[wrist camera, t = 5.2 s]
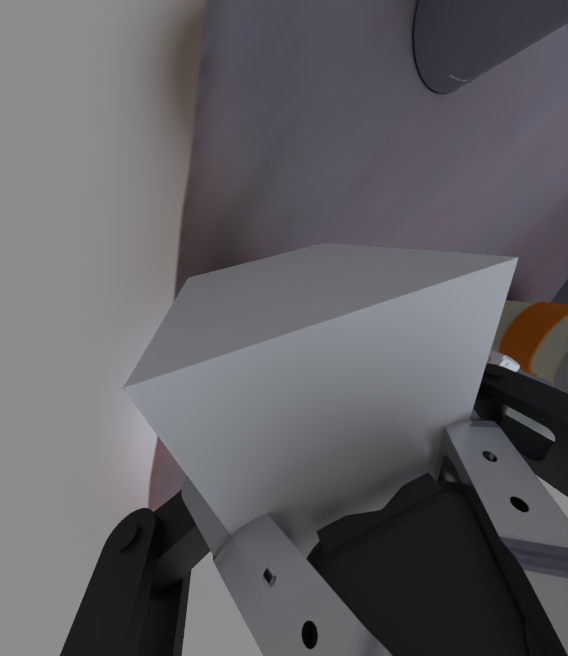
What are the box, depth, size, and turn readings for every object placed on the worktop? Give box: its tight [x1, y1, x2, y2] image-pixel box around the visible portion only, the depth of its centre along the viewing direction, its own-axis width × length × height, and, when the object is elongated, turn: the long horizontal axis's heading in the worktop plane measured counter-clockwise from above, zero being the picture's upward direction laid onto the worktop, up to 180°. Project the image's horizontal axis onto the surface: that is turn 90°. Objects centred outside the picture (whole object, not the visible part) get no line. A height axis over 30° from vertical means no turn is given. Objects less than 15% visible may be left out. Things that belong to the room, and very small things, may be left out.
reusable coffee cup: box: [491, 300, 568, 392], centre depth 34 cm, size 13×12×15 cm
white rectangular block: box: [123, 243, 519, 558], centre depth 9 cm, size 12×7×8 cm, turn 12°
